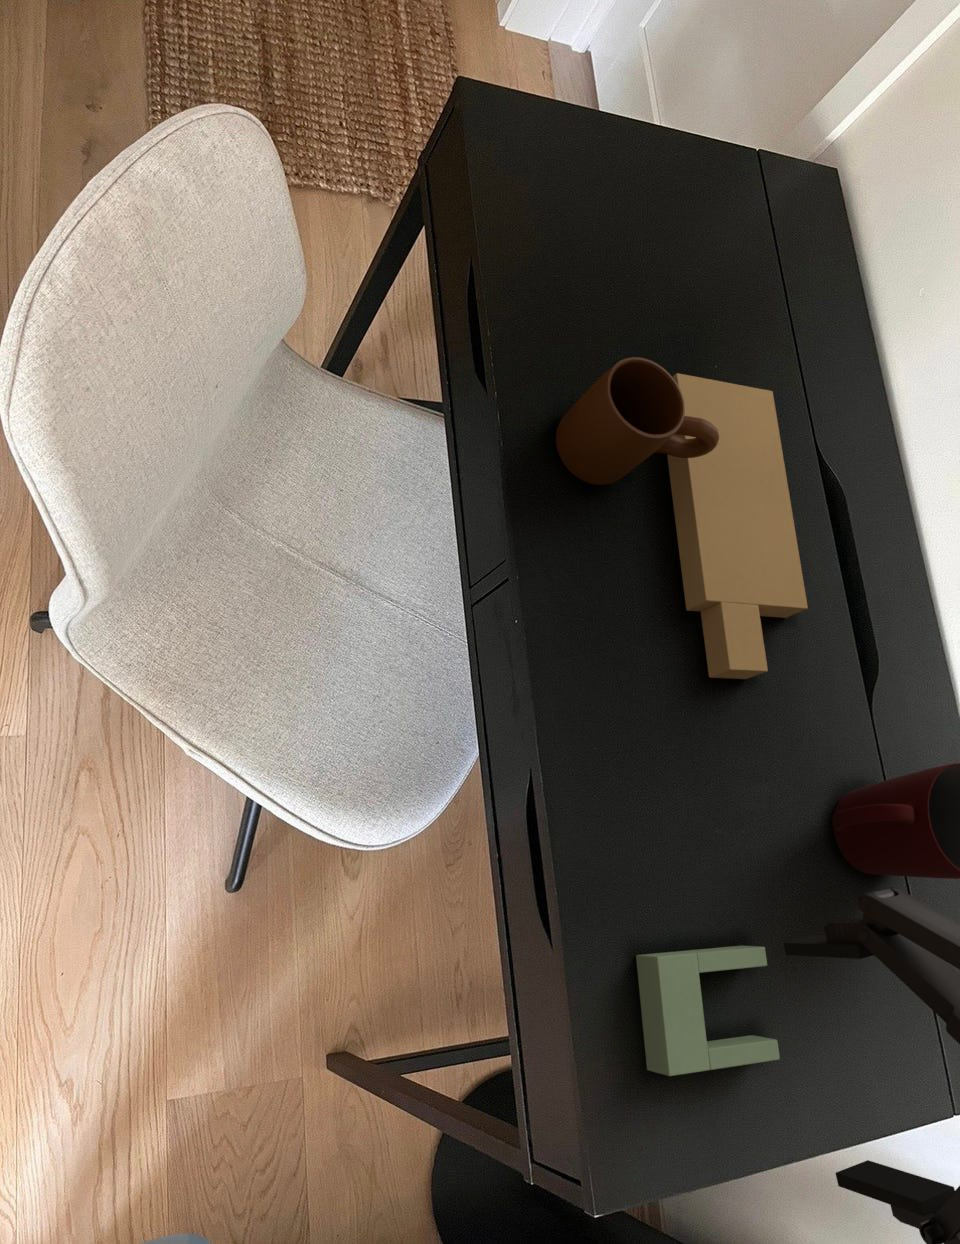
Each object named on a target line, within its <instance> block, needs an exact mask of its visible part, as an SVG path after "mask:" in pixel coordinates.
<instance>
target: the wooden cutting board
mask: <svg viewBox="0 0 960 1244" xmlns="http://www.w3.org/2000/svg"><path fill="white" fill-rule="evenodd" d="M672 377H673V378H674V380H675V381H676V383H677V384H678V386H679V388H680V390H681V393H682V395H683V399H684V405H685V414H684V416H690V417H696V418H702V419H705V420H707V421H708V422H710V423H712V424H713V425H714V426H715V427H716V428H717V430H718V433H719V441H718V443H717V446H716V447H715V448H714V449H713V450H712V451H711V452H709V453H708V454H706V455H703V456H700V457H695V458H680V457H674V456H671V455H668V454H666V457H667V464H668V465H667V466H668V472H669V473H668V474H669V483H670V488H671V498H672V507H673V513H674V521H675V522H674V523H675V531H676V538H677V545H678V553H679V555H678V556H679V562H680V569H681V570H680V571H681V577H682V586H683V593H684V594H683V595H684V603H685V610H686V611H688V612H689V611H690V612H700V618H701V623H702V624H701V625H702V634H703V641H704V648H705V658H706V664H707V665H706V666H707V672H708V673H707V674H708V677H709V678H711V679H712V678H713V679H733V680H747V679H750V678H753V677H756V676H759V675H761V674H764V673H767V672H769V669H768V662H767V656H766V649H765V648H766V647H765V642H764V635H763V628H762V622H761V617H770V618H782V619H783V618H784V619H787V618H789V617H791V616H794V615H796V614H798V613H800V612H803V611H805V610H807V609H808V601H807V594H806V587H805V583H804V577H803V576H804V575H803V570H802V563H801V559H800V557H801V556H800V552H799V546H798V545H799V544H798V539H797V534H796V527H795V521H794V515H793V514H794V513H793V508H792V502H791V497H790V490H789V484H788V483H789V482H788V478H787V471H786V465H785V460H784V454H783V447H782V446H783V445H782V441H781V434H780V429H779V422H778V416H777V410H776V403H775V397H774V391H773V390H769V389H763V388H757V387H753V386H748V385H741V384H736V383H731V382H726V381H721V380H715V379H710V378H705V377H699V376H696V375H695V376H694V375H689V374H684V373H679V372H676V373H675V374H674V375H673V376H672ZM674 436H677V437H679V438H683V439H693V438H696V437H691V436H684V435H678V434H674Z"/></svg>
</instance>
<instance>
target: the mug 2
mask: <svg viewBox="0 0 960 1244" xmlns="http://www.w3.org/2000/svg"><path fill="white" fill-rule="evenodd" d="M832 829H833V833H834V838H835V842H836V844H837V846H838V849H839V851H840V853H841V855H842V856H843V857H844V859H845V860H846V862H847V863H848V864H850V866H852V867H853V868H854V869H856V870H857V871H859V872H861V873H864V874H867V875H876V876H877V875H878V876H891V877H893V876H895V877H909V878H925V879H926V878H928V879H929V878H930V879H951V880H952V879H955V880H960V762H956V763H950V764H949V763H948V764H944V765H939V766H935V767H931V768H927V769H923V770H919V771H915V772H912V773H907V774H904V775H900V776H897V777H893V778H889V779H886V780H882V781H879V782H876V783H873V784H868V785H865V786H861V787H859V788H855V789H852V790H850V791H848V792H846V793H845V794H844V795H843V796H842V797H841V798H840V799H839V801H838V802H837V805H836V806H835V810H834V814H833V815H832Z"/></svg>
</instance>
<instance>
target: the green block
mask: <svg viewBox="0 0 960 1244" xmlns="http://www.w3.org/2000/svg"><path fill="white" fill-rule="evenodd" d="M635 958H636V959H635V960H636V969H637V970H636V971H637V979H638V991H639V1000H640V1011H641V1021H642V1022H641V1023H642V1032H643V1042H644V1051H645V1052H644V1053H645V1054H644V1055H645V1064H646V1070H647V1071H649V1072H653V1073H656V1074H661V1075H664V1076H667V1077H673V1076H680V1075H687V1074H694V1073H701V1072H706V1071H715V1070H720V1069H727V1068H733V1067H740V1066H741V1067H742V1066H747V1065H753V1064H760V1063H766V1062H773V1061H779V1060H780V1059H781V1058H780V1050H779V1044H778V1043H779V1042H778V1039H776V1038H770V1037H764V1036H760V1035H759V1036H758V1035H753V1034H751V1035H743V1036H742V1035H741V1036H736V1037H728V1038H722V1039H720V1038H719V1039H715V1040H713V1039H712V1040H708V1039H707V1033H706V1024H705V1023H706V1022H705V1013H704V1006H703V995H702V989H701V988H702V987H701V978H700V974H701V973H710V972H711V973H712V972H721V971H722V972H723V971H730V970H740V969H741V970H742V969H751V968H761V967H767V966H768V960H767V951H766V946H759V945H758V946H757V945H756V946H754V945H733V946H722V947H711V948H701V949H690V950H676V951H667V952H666V951H665V952H655V953H645V954H636V956H635Z"/></svg>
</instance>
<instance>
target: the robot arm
mask: <svg viewBox="0 0 960 1244" xmlns="http://www.w3.org/2000/svg"><path fill="white" fill-rule="evenodd" d="M856 900H857V903H856V904H857V906H858V908H859V910H860V911H861V913H862V918H843V919H840V920H835V921H832V922H827V923H826V924H825V925H823V930H824V934H817V935H816V934H813V935H809V936H805V937H801V938H798V939H793V940H789V941H784V942H783V948H784V952H785V955H786V956H797V957H799V956H800V957H815V958H816V957H817V958H833V959H834V958H835V959H855V960H862V959H865V958H869V957H873V956H875V957H876V958H877V960H879V961H880V962H881V963H882V964H883V965H884V966H885V967H886V968H887V969H888V970H889V971H891V973H892V974H893V975H894V976H896V977H897V978H898V979H899V980H900V981H901V982H902V983H903V984H904V985H905V986H906V987H907V988H909V990H910V991H912V992H913V993H914V995H916V996H917V997H918V998H919V999H920V1000H921V1001H922V1002H923V1003H924V1004H926V1006H928V1008H929V1009H930V1010H932V1011H933V1012H934V1014H936V1015H937V1016H938V1017H939V1018H940V1019H941V1020H942V1021H943V1022H944V1023H945V1031H946V1033H947V1034H948V1035H949V1036H950V1037H951V1038H952V1039H954V1041H955V1042H957V1044H958V1045H960V973H959V972H958V971H957V970H956V969H958V970H960V920H958V919H956V918H955V917H953V916H951V915H949V914H947V913H945V912H944V911H941V910H940V909H938V908H936V907H934V906H932V905H930V904H928V903H926V902H925V901H922V900H921V899H919V898H917V897H916V896H914V895H911V894H909V893H908V892H906V891H904V890H903V889H900V888H898V887H896V886H890V887H889V886H888V887H884V888H879V889H876V890H871V891H867V892H863V893H860V894H859V895H858V897H857V899H856ZM952 966H953V967H955V968H956V969H955V968H953V967H952ZM835 1177H836V1181H837V1186H838V1187H840V1188H841V1189H842V1188H843V1189H845V1190H848V1191H850V1192H853V1193H856V1194H859V1195H861V1196H865V1197H867V1198H871V1199H873V1200H876V1201H878V1202H882V1203H885V1204H887V1205H890V1209H891V1214H892V1217H894V1218H895V1219H896V1220H897V1221H898V1222H900V1223H902V1224H904V1225H907V1226H910V1227H912V1228H915V1229H917V1230H918V1231H919V1234H920V1237H921V1239H922V1241H923V1242H924V1243H925V1244H960V1185H958V1187H957V1188H956V1189H955V1187H954V1186H952V1185H949V1184H945V1183H943V1182H939V1181H936V1180H933V1179H929V1178H926V1177H923V1176H920V1175H917V1174H913V1173H911V1172H907V1171H905V1170H901V1169H897V1168H895V1167H891V1166H888V1165H884V1164H882V1163H879V1162H875V1161H872V1160H869V1159H867V1160H864V1161H862V1162H860V1163H857V1164H854V1165H852V1166H849V1167H847V1168H844V1169H841V1170H839V1171H836V1172H835ZM139 1244H212V1243H211V1241H209V1239H208V1238H206V1237H204V1236H203V1235H200V1234H197V1233H190V1232H184V1233H182V1232H181V1233H176V1234H169V1235H165V1236H159V1237H156V1238H153V1239H149V1240H146V1241H143V1242H139Z"/></svg>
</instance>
